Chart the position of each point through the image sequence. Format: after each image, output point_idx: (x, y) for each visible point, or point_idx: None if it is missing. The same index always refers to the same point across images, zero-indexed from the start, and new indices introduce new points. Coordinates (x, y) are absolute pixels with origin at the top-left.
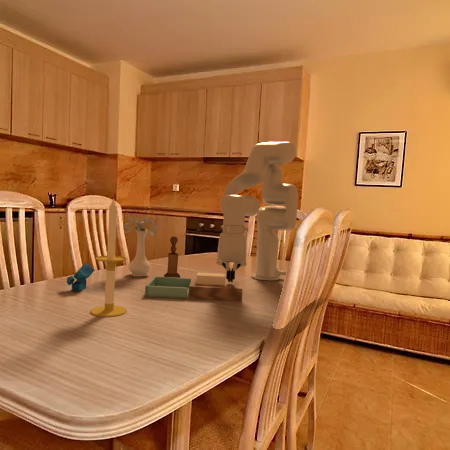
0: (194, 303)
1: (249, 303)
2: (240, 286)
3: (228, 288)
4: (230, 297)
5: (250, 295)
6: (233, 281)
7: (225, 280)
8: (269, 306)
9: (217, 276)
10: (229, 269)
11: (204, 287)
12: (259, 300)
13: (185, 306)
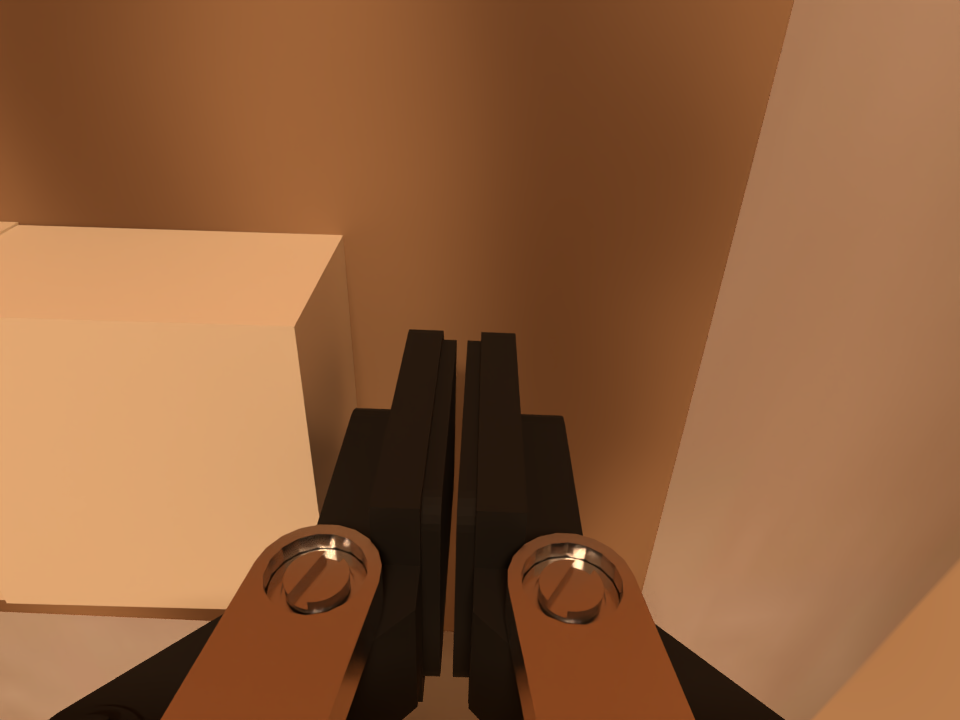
0: (101, 627)
1: (670, 578)
2: (637, 511)
3: None
4: None
5: (821, 245)
6: (573, 103)
7: (357, 15)
8: (853, 636)
9: (151, 605)
10: (393, 699)
11: (67, 610)
12: (845, 470)
13: (57, 694)
